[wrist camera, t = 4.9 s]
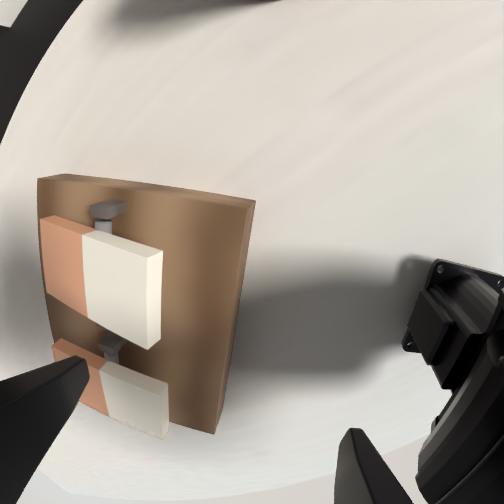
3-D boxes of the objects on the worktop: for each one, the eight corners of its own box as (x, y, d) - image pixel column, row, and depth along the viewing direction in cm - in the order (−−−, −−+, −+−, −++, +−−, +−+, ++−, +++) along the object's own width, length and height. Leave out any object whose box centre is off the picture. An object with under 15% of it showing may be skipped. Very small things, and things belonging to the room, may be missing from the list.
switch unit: (255, 200, 18) (239, 217, 13) (222, 409, 24) (207, 452, 19) (61, 173, 20) (14, 182, 15) (77, 358, 25) (49, 387, 21)
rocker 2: (173, 370, 18) (160, 390, 16) (173, 423, 20) (163, 442, 18) (67, 327, 19) (50, 341, 17) (79, 382, 21) (66, 396, 19)
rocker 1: (174, 238, 14) (147, 249, 12) (169, 337, 16) (147, 355, 14) (64, 206, 17) (39, 212, 15) (69, 287, 19) (47, 297, 17)
